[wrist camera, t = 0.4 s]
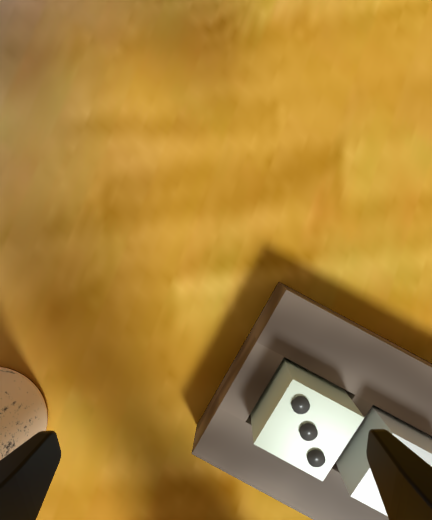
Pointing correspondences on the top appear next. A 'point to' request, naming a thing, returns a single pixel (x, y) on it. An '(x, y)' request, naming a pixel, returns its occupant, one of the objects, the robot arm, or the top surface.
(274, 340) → the grey tray with tiles
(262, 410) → the tile three
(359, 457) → the tile two
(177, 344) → the top surface
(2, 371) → the teacup with lid
